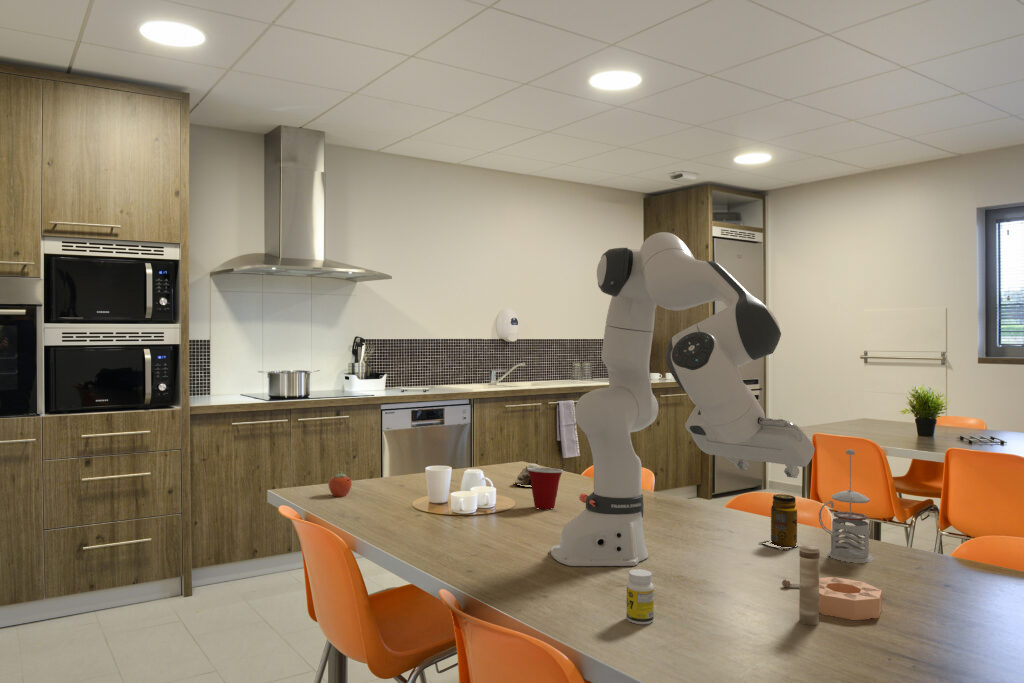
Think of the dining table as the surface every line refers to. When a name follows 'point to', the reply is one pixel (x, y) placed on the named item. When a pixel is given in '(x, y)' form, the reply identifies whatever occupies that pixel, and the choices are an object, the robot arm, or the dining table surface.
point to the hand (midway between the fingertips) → (768, 470)
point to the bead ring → (849, 599)
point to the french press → (849, 528)
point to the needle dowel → (809, 585)
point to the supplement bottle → (640, 597)
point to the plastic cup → (544, 486)
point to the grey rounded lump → (525, 475)
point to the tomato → (340, 485)
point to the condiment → (783, 521)
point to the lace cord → (787, 584)
